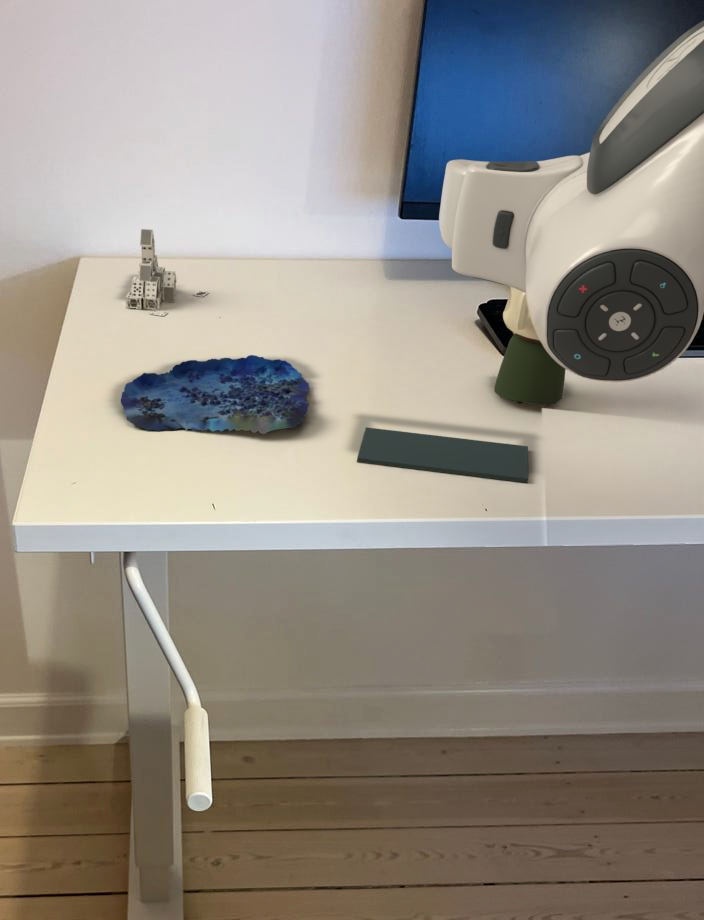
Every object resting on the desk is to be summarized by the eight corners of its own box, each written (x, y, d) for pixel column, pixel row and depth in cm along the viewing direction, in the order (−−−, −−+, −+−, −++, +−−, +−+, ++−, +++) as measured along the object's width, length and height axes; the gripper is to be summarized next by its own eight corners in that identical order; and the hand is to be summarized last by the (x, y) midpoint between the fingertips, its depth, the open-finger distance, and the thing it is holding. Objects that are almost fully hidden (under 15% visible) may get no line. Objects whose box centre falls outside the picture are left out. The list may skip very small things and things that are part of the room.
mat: (527, 450, 86) (528, 446, 85) (527, 483, 81) (528, 478, 81) (365, 431, 88) (365, 427, 88) (356, 462, 83) (357, 457, 83)
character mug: (519, 371, 99) (546, 236, 91) (586, 391, 96) (621, 252, 88) (464, 405, 93) (489, 263, 85) (534, 428, 89) (567, 281, 81)
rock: (307, 439, 86) (308, 418, 85) (113, 431, 87) (111, 411, 86) (310, 375, 98) (311, 356, 97) (138, 369, 99) (137, 350, 98)
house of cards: (199, 318, 109) (199, 246, 105) (121, 314, 110) (118, 242, 105) (209, 291, 116) (210, 223, 112) (136, 287, 117) (134, 219, 112)
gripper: (802, 191, 57) (758, 142, 68) (442, 164, 60) (454, 122, 71) (763, 301, 61) (727, 238, 71) (427, 270, 64) (440, 215, 75)
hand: (588, 180), depth 71 cm, fingers open, 8 cm apart
